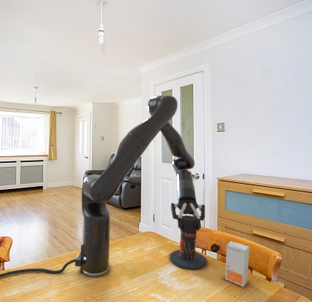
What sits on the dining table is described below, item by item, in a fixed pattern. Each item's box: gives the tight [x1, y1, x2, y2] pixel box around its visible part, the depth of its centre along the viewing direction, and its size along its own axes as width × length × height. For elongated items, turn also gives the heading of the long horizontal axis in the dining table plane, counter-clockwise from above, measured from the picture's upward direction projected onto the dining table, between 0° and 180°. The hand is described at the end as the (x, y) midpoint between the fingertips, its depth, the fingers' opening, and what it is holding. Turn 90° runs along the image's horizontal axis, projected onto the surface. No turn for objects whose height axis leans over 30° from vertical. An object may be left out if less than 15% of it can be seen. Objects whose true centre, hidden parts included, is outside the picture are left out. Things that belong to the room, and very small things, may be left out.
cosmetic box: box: [224, 240, 250, 288], centre depth 75 cm, size 6×4×12 cm
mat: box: [169, 249, 208, 271], centre depth 88 cm, size 14×14×1 cm
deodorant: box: [179, 214, 198, 260], centre depth 88 cm, size 6×6×15 cm
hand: (189, 229), depth 86 cm, fingers closed on deodorant, 6 cm apart
